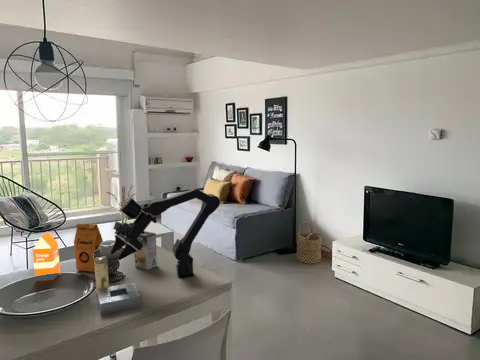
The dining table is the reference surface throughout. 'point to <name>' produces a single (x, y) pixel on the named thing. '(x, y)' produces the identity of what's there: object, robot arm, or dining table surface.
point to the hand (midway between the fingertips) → (114, 256)
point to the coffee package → (86, 246)
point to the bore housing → (118, 298)
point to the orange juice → (46, 256)
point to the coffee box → (146, 251)
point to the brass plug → (101, 272)
